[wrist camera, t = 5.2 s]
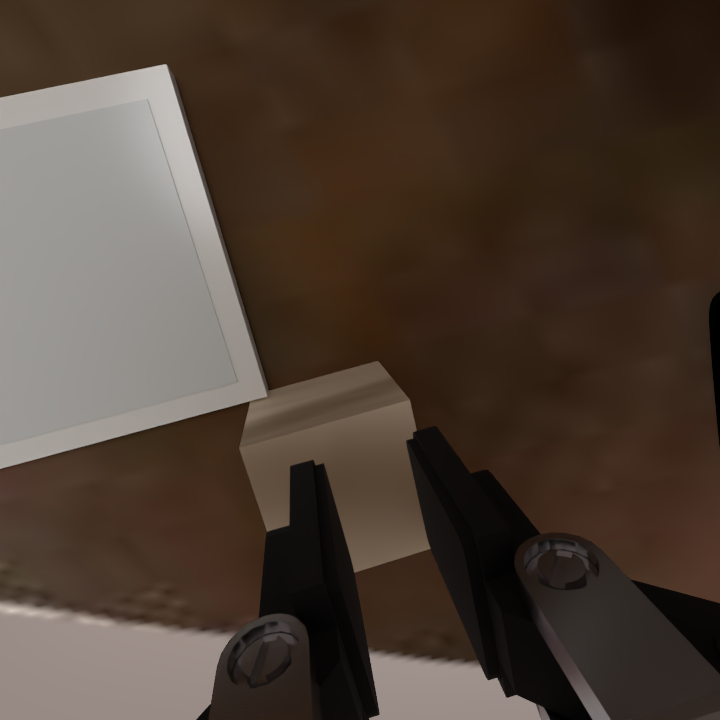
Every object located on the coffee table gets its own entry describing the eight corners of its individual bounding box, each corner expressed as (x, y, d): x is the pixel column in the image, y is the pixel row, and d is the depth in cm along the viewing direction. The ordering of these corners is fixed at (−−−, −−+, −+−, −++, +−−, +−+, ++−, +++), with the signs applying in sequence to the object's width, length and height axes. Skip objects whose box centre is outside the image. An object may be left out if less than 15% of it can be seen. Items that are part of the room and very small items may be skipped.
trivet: (-187, 149, 17) (-226, 141, 16) (174, 75, 18) (165, 62, 17) (-27, 467, 20) (-49, 483, 19) (268, 388, 21) (267, 397, 20)
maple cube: (409, 399, 16) (377, 360, 22) (239, 448, 16) (251, 394, 21) (442, 544, 18) (404, 472, 24) (287, 593, 17) (287, 507, 23)
